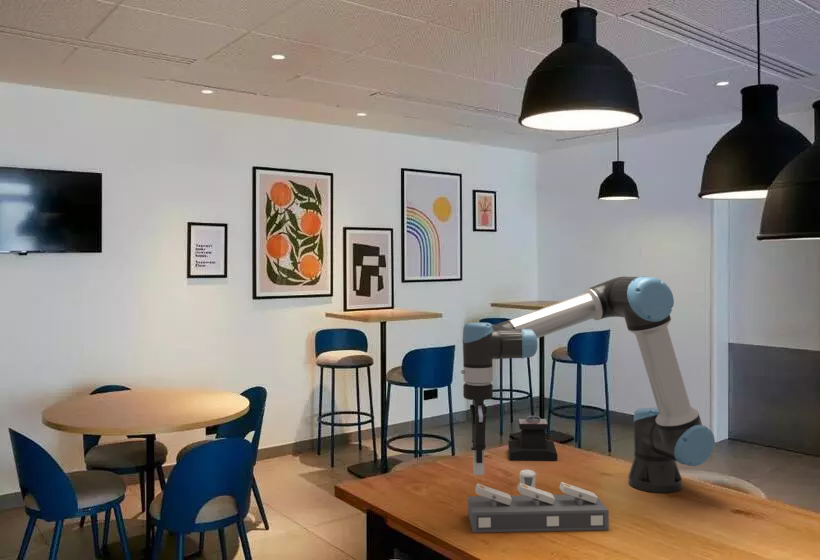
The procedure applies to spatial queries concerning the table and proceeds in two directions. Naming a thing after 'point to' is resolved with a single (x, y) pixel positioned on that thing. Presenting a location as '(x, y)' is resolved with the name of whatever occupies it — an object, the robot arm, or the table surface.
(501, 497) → the rocker
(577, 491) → the rocker
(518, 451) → the black pedestal stand
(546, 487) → the table surface
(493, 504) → the console
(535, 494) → the rocker mid
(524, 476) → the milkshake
